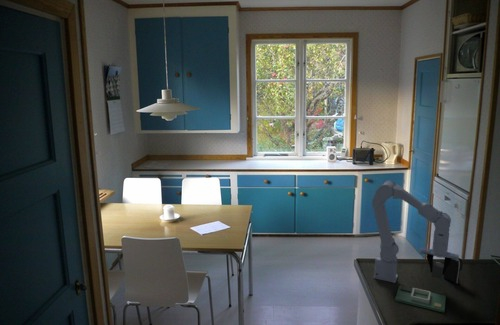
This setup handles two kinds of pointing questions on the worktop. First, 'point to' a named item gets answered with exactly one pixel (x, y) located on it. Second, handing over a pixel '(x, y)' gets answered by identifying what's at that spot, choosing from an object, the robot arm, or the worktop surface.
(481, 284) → the worktop surface
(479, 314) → the worktop surface
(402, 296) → the board
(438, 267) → the plug
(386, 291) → the worktop surface
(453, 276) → the battery charger
